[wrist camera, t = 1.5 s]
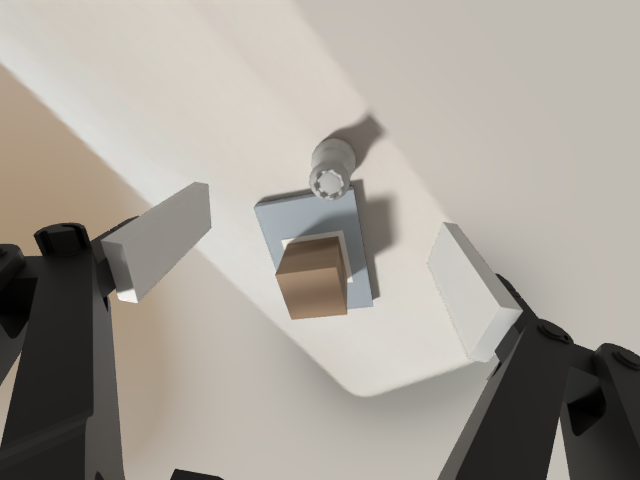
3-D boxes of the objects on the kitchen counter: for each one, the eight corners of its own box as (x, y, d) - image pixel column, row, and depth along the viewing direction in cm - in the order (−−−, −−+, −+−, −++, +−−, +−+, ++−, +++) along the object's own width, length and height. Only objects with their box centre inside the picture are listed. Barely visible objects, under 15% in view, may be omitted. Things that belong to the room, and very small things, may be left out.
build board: (256, 203, 31) (253, 208, 30) (353, 185, 29) (353, 190, 28) (293, 308, 38) (291, 315, 37) (372, 300, 36) (373, 307, 35)
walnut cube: (287, 243, 32) (275, 274, 27) (338, 236, 31) (336, 267, 25) (300, 284, 35) (291, 319, 29) (347, 278, 33) (347, 314, 28)
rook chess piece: (365, 158, 28) (370, 183, 21) (335, 190, 29) (331, 222, 22) (331, 127, 26) (325, 142, 19) (303, 162, 28) (288, 187, 21)
